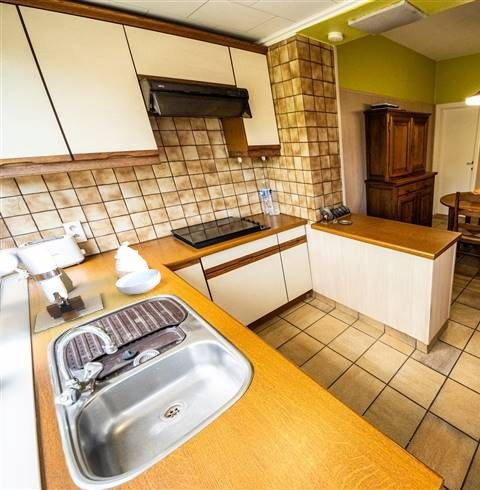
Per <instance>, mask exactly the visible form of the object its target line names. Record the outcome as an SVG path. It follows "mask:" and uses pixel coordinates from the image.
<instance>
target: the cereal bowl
mask: <svg viewBox="0 0 480 490" xmlns="http://www.w3.org/2000/svg"><path fill="white" fill-rule="evenodd" d="M161 279H162V275H161V273H160V271H159V270H158V269H155V268H149V269H147V270H141V271H137V272H134V273H131V274H129V275H127V276H124V277H123V278H121V279H120V278H119V279H118V280H117V281H116V282H115V287H116V289H117V290H118V291H119V293H121V294H124V295H130V296H131V295H141V294H145V293H147V292H150V291H152V290H153V289H154V288H155V287H156V286H157V285H159V283H160V282H161Z"/></svg>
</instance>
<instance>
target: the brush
mask: <svg viewBox="0 0 480 490" xmlns="http://www.w3.org/2000/svg"><path fill="white" fill-rule="evenodd" d="M64 301H65V300H64ZM64 301H63V302H64ZM67 301H68V303H69V304H71V306H72V307H73V309H74V310H75V309H76V310H77V311H80V310H83V309H85V303H84V301H83V298H82V295H76V296H74V297H71V298H69V299H67ZM46 310H47V312H48V313H49V315H50V316H51V317H53V318H54V319H58V318H60V317H63V315H62V314H63V313H62V311H61V310H60V308H59V306H58V304H57V302H54V303H53V304H49V305H46V306H45V311H46Z"/></svg>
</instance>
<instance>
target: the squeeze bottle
mask: <svg viewBox="0 0 480 490" xmlns="http://www.w3.org/2000/svg"><path fill="white" fill-rule="evenodd" d="M58 268H59V269H60V271H61V273H62V274H61V275H60V276H59V277H60V279H61V281H62V282H63V284H64V286H65V288H66V290H67V293H70V292H71V291H72V290H73V288H74V287H73V286H74V285H73V280H72V279H71V278H70V277H69V276H68V274H67V273H66V272H65V270H64V269H63V268H62V267H58Z"/></svg>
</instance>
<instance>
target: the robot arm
mask: <svg viewBox="0 0 480 490" xmlns="http://www.w3.org/2000/svg"><path fill="white" fill-rule="evenodd" d="M21 265H23V267H24V268H25V269H26V271H27V272H28V274H29V275H30V277H31V279H32V280H33V282H34V283H39V285H40V288H41V290H42V291H43V293H44V295H45V297H46V298H47V300H48V302H49V304H50V305H52V304H55V303H57V304H58V306H59V308H60V310H61V311H62V313H63V314H64V313H67V312H69V311H72V310H74V309H73V307H72V306H71V304H69V303H68V301H67V299H70V298H69V297H68V292H67V290H66V288H65V286H64V284H63V282H62V281H61V279H60V277H59V276H60V275H61V274H62V273H61V271H60V269H59V268H60V267H59V266H58V265H57V262H56V261H55V259H54V257H53V256H52V254H51V252H50V251H49V249H48V247H47V246H46V245H45V244H43V243H33V244H28V245H24V246H20V247H9V248H0V277H5V276H7V275H9V274H11V273H12V272H14V271H15V270H16V268H17V267H20V266H21ZM64 300H65V301H64ZM63 301H64V302H63Z"/></svg>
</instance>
